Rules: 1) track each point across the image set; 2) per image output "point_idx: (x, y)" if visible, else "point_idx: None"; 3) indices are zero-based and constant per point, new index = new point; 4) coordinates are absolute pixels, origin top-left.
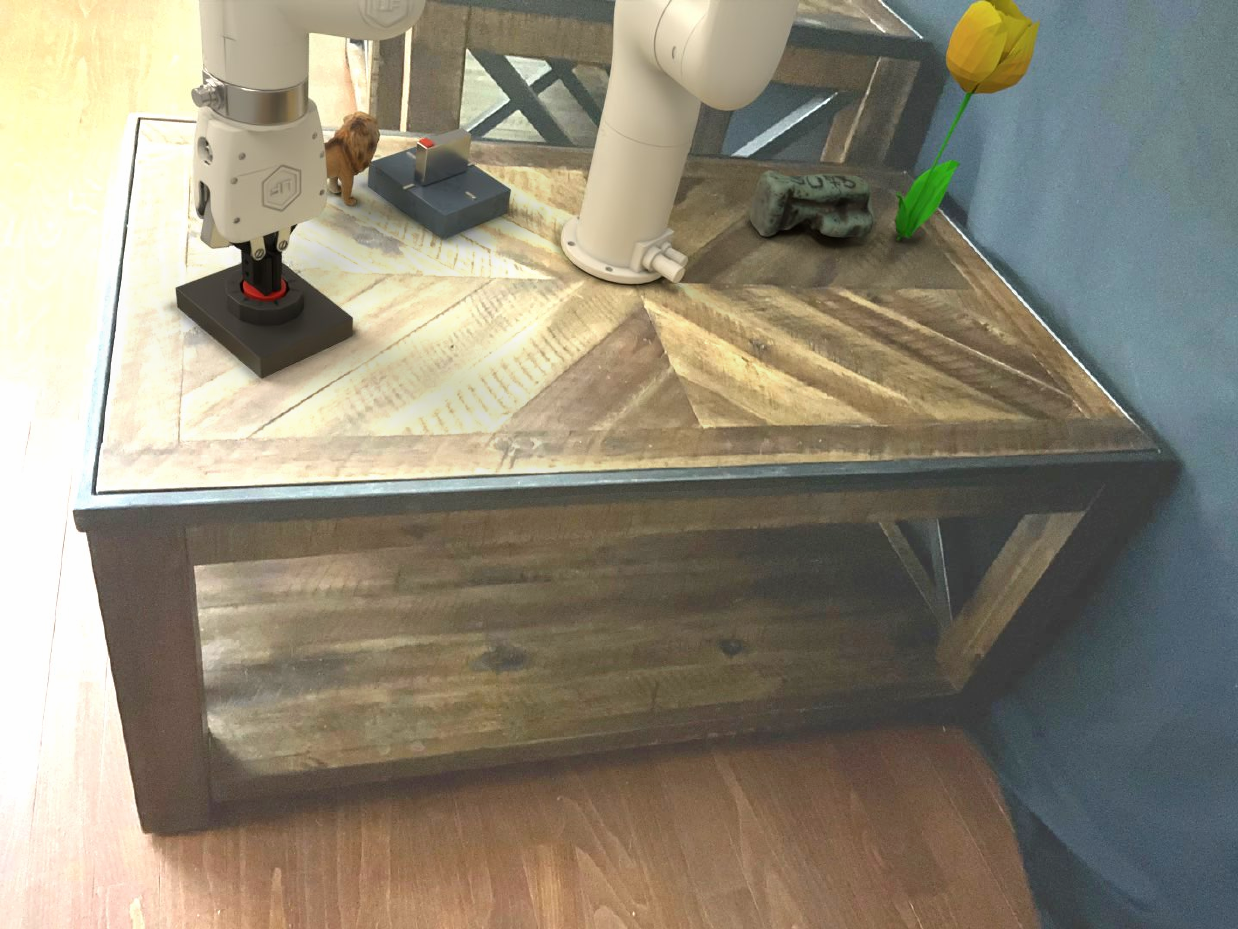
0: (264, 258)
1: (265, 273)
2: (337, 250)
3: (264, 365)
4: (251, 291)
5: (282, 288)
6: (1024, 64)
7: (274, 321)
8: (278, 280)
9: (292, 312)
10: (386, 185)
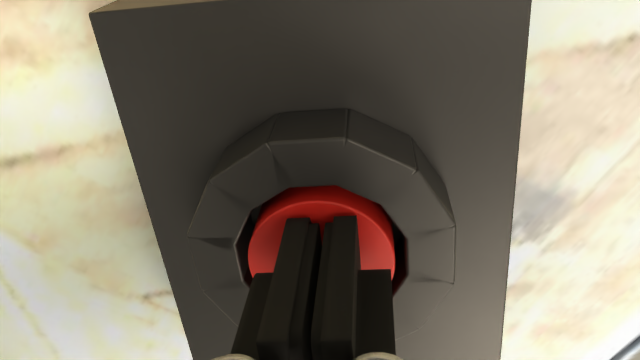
0: (350, 349)
1: (354, 283)
2: (21, 317)
3: None
4: (381, 257)
5: (275, 223)
6: None
7: (366, 121)
8: (294, 244)
9: (291, 123)
10: None
